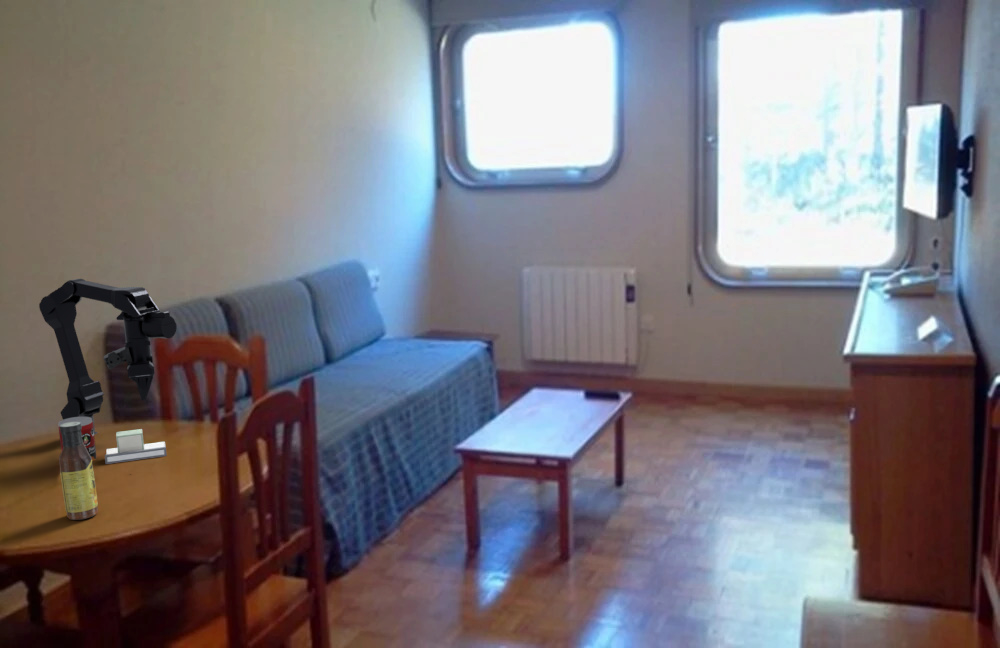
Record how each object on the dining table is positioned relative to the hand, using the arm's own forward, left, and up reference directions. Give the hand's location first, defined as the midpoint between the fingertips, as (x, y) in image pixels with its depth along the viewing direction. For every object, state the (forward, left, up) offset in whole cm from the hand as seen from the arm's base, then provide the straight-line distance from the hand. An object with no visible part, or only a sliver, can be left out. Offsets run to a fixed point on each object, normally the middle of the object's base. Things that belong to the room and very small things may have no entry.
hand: (143, 396), depth 242 cm
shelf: (+9, -3, -13) cm, 16 cm away
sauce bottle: (+48, -14, -13) cm, 52 cm away
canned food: (+9, -16, -13) cm, 23 cm away
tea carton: (+12, -4, -12) cm, 18 cm away
